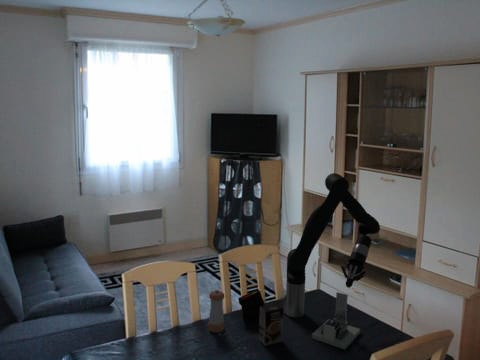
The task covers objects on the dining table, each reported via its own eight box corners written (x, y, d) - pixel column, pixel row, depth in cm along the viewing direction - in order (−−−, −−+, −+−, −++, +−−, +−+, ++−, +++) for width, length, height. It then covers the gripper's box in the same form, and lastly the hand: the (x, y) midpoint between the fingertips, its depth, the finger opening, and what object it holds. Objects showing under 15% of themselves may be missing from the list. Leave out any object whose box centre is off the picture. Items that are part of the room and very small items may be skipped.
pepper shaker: (212, 333, 218) (213, 294, 215) (206, 327, 224) (206, 288, 221) (226, 330, 222) (227, 291, 218) (219, 323, 228) (220, 286, 224)
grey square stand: (311, 338, 216) (312, 320, 215) (328, 323, 231) (329, 306, 229) (344, 349, 207) (346, 331, 206) (360, 333, 222) (361, 316, 220)
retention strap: (334, 318, 222) (335, 292, 220) (335, 317, 223) (336, 291, 221) (345, 321, 219) (347, 296, 217) (346, 320, 220) (348, 295, 218)
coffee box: (265, 346, 209) (266, 312, 206) (258, 339, 214) (259, 306, 211) (282, 341, 213) (284, 308, 210) (275, 335, 218) (276, 302, 215)
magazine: (272, 317, 232) (259, 291, 229) (247, 328, 232) (234, 303, 229) (270, 313, 236) (258, 288, 233) (246, 325, 236) (234, 299, 232)
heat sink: (320, 333, 217) (321, 325, 216) (328, 326, 223) (328, 318, 222) (341, 340, 211) (341, 332, 210) (348, 333, 217) (348, 325, 217)
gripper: (344, 248, 233) (332, 280, 225) (370, 254, 226) (359, 286, 218) (347, 256, 238) (336, 287, 231) (373, 261, 231) (363, 293, 223)
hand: (348, 286), depth 224 cm, fingers closed
